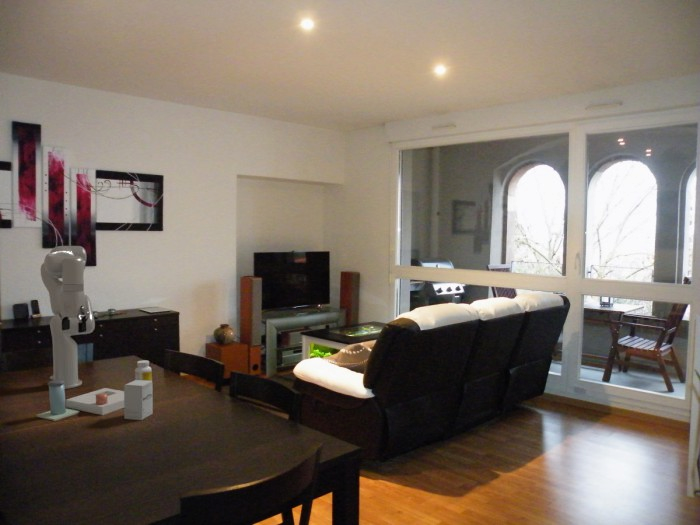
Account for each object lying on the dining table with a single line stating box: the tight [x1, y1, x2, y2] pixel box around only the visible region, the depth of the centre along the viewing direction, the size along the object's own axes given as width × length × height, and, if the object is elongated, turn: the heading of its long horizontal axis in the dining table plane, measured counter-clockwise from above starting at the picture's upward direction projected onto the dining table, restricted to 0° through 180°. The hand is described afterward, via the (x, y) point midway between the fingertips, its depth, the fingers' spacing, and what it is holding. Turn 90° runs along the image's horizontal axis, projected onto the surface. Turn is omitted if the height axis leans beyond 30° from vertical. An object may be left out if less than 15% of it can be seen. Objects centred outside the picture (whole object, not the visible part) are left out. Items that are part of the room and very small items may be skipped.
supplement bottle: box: [134, 359, 153, 381], centre depth 231 cm, size 7×7×13 cm
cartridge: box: [47, 379, 67, 415], centre depth 201 cm, size 6×6×12 cm
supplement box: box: [123, 379, 154, 421], centre depth 200 cm, size 7×7×13 cm
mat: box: [36, 407, 80, 422], centre depth 202 cm, size 10×10×1 cm
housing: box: [65, 387, 124, 416], centre depth 214 cm, size 20×18×3 cm
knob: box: [96, 393, 108, 404], centre depth 206 cm, size 4×4×6 cm
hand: (74, 330), depth 218 cm, fingers open, 9 cm apart
